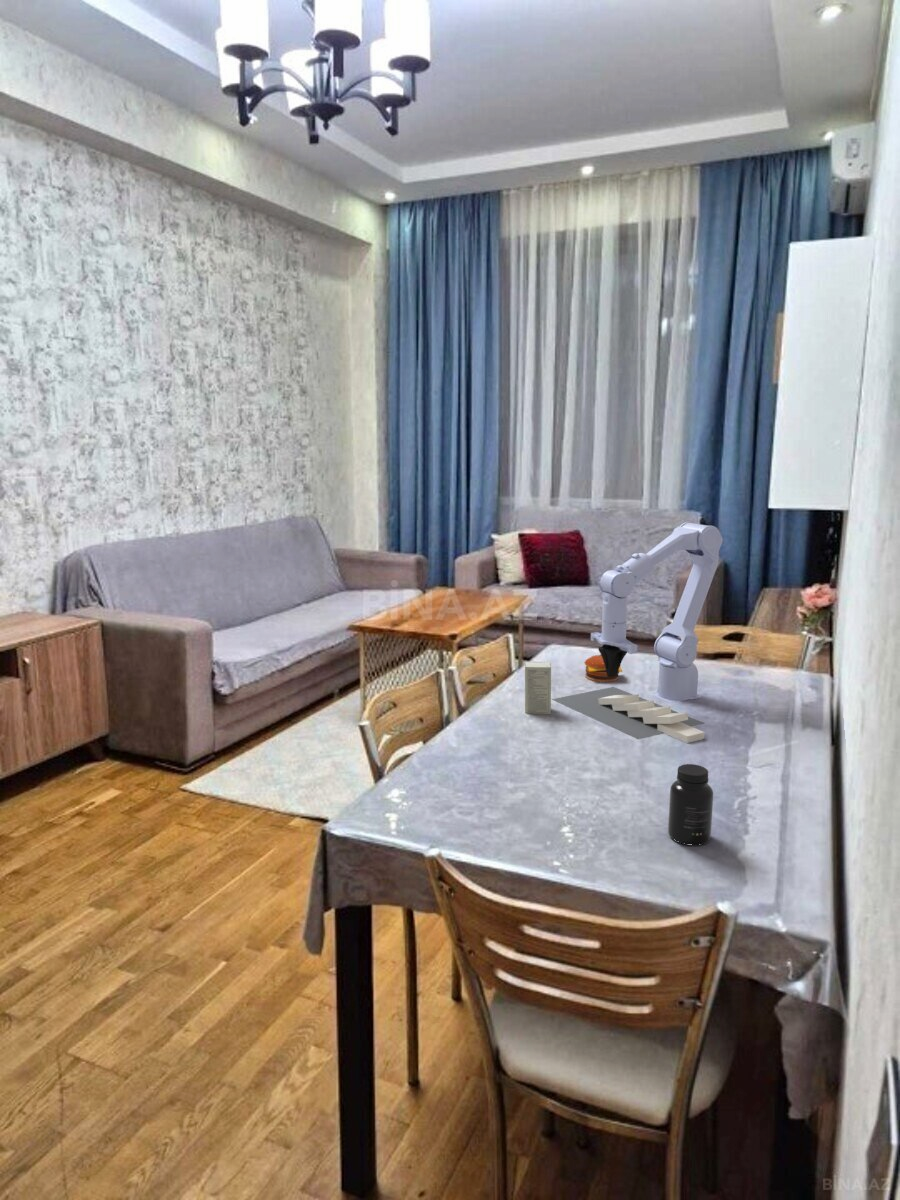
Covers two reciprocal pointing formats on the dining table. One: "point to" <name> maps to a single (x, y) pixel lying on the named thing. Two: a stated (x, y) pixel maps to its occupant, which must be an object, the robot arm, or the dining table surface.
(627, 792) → the dining table surface
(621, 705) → the domino
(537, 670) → the skincare box
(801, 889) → the dining table surface
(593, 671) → the hamburger
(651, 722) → the domino
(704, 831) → the supplement bottle
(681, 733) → the domino
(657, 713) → the domino
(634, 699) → the domino
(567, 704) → the mat
